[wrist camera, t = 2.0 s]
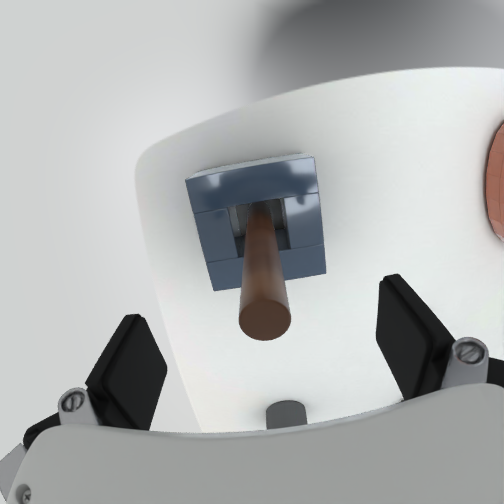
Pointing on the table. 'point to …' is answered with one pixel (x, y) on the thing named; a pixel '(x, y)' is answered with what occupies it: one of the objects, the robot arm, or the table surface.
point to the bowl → (496, 184)
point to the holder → (254, 190)
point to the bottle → (285, 415)
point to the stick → (262, 279)
